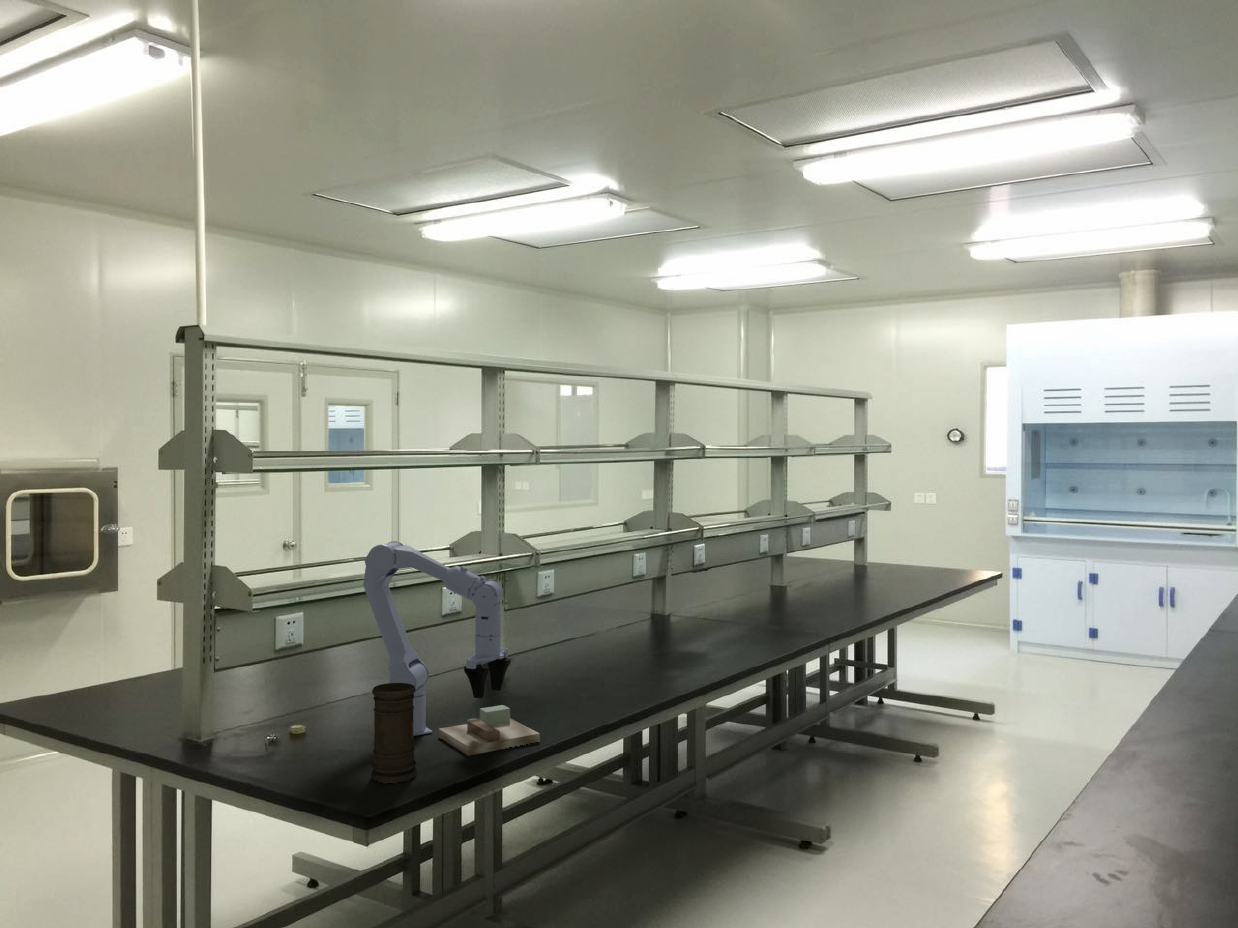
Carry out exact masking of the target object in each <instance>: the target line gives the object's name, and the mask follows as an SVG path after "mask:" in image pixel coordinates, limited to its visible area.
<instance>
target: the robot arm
mask: <svg viewBox="0 0 1238 928" xmlns="http://www.w3.org/2000/svg"><path fill="white" fill-rule="evenodd" d="M364 565H365V569H364V577H363V589H364V592H365V595H366V597H367V599H368V602H369V605H370V607H371V611H372V614H373V616H374V619H375V622H376V624H377V626H378V629H379V632H380V634H381V637H382V640H383V643H384V645H385V649H386V651H387V653H388V657H389V662H388V667H387V668H388V669H387V670H388V671H389V677H390V679H389V683H408V684H412V685H414V686H415V689H416V691H415V693H414V699H413V706H414V709H413V737H414V736H421V735H426V734H427V735H428V734H432V733H433V730H431V729H430V728H428V727H427V726H426V723H427V722H426V719H427V718H426V717H427V716H426V715H427V714H426V713H427V712H426V706H427V705H426V704H427V700H426V699H427V698H426V697H427V696H426V695H427V694H426V693H427V691H426V688H425V685H426V684H427V683H428V681H429V678H430V671H429V668H428V667H427V665H426V664H425V663H424V662H423V661H422V659H421V658H420V655H419V654H418V653H417V651H415V650H414V649H413V648H412V645H411V642H410V640H409V637H408V635H407V632H406V629H405V626H404V623H403V621H402V617H401V615H400V613H399V610H398V607H397V605H396V604H397V603H396V602H395V599H394V596H393V594H392V591H391V589H390V583H391V581H392V580H393V577H394V576H395V575H396V573H397V572H398V571H399V570H400V569H401V570H403V569H410V568H411V569H414V570H416V571H418V572H422V573H424V574H426V575H428V576H431V577H433V578H435V579H438V580H440V581H442V582H443V585H444V587H445V589H447V590H448V591H450V592H452V593H454V594H457V595H459V596H460V597H463V598H465V599H467V600H469V601H472V603H473V605H474V606H475V616H474V619H475V621H474V622H475V624H474V627H475V629H474V632H475V633H474V634H475V635H474V648H475V649H474V653H473V654H472V656H471V657H469V658H467V659H466V665H465V666H463V671H464V673H465V675H466V677H467V678H468V681H469V684H470V686H471V687H470V688H471V691H472V695H473V698H476V699H480V700H482V699H483V698H484V696H485V689H486V688H485V686H486V679H487V677H488V673H489V676H490V687H491V690H492V691H496V692H497V691H498V692H500V691H502V687H503V683H504V681H505V680H504V679H505V675H506V673H507V671H508V668H509V666H510V665H511V658H508V657H509V648H507V647H501V622H502V621H501V618H502V617H501V615H502V614H501V603H500V602H501V601H502V600H503V598H504V589H503V586H502V585H501V584H500V583H499V582H497V581H496V580H495V579H487V578H486V576H483V575H481V576H480V575H477V574H476V573H473V572H472V571H469V570H468V567H467V566H466V565H462V566H461V567H460V566H458V565H456V566H453V567H448V566H446V565H445V564H443V563H441V562H439V561H438V560H436V559H434V558H432V557H430V556H428V555H427V554H424V552H421V551H419V550H418V549H415V548H414V547H412V546H410V545H407V544H403V543H402V542H400V541H396V540H392V541H389V542H388V543H384V544H377V545H375V546H373V547H372V548H371V549H370V551H368V553H367V555H366V557H365V558H364ZM486 579H487V580H486ZM485 664H486V665H487V666H488V668H487V667H486V668H485V667H483V665H485Z"/></svg>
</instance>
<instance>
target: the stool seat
mask: <svg viewBox="0 0 1238 928" xmlns="http://www.w3.org/2000/svg"><path fill="white" fill-rule="evenodd" d="M490 726H491V727H493V728H495V729H497V730H499V731H500V740H497V741H492V742H488V741H487V740H485V739H483V738H481V737H480V736H478V735H476V734H475V733H473V732H471V731H469V730H467V723H465V724H460V725H459V724H458V725H453V726H447V727H441V728H440V727H439V728H438V738H439V739H441V740H442V739H443V741H444V742H445V741H446V742H445V743H448V744H449V745H451V746H452V747H453V748H455V749H457V750H459V751H460V752H462V753H464V755H466V756H474V755H478V754H485V753H489V752H490V753H491V752H494V751H500V749H501V750H506V748H507V749H510V748H509V747H512V748H516V747H515V746H517V747H521V746H520V745H523V746H527V745H526V744H528V745H530V744H529V743H534V744H536V743H535V742H539V743H540V742H541V733H539V732H538V731H536V730H534V729H532V728H530V727H528V726H526V725H524V724H522V723H520V722H518V721H516V720H515V719H513V718H511V717H510V722H508V723H502V724H496V725H490ZM524 744H525V745H524Z"/></svg>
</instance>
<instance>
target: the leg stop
mask: <svg viewBox="0 0 1238 928" xmlns="http://www.w3.org/2000/svg"><path fill="white" fill-rule="evenodd" d="M510 718H511V708H510V707H508V706H506V705H503V704H501V705H495V706H488V707H482V708H479V720H480V721H482V722H484V723H486V724H488V725H496V724H502V723H508V722H510Z"/></svg>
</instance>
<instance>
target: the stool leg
mask: <svg viewBox="0 0 1238 928" xmlns="http://www.w3.org/2000/svg"><path fill="white" fill-rule="evenodd" d="M466 724H467V730H469V731H471V732H473V733H475V734H476V735H478V736H480V737H481V738H483V739H485V740H487V741H488V742H492V741H497V740H500V731H499V730H497V729H495V728H493V727H491V726H490V725H488V724H486V723H484V722H482V721H480V718H469V719H467V721H466Z"/></svg>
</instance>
